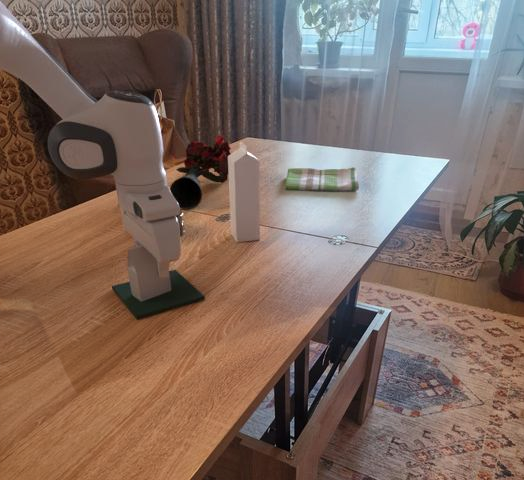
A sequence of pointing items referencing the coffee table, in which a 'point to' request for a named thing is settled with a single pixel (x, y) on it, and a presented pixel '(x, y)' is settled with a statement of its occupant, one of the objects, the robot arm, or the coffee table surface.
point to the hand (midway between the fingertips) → (153, 266)
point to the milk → (244, 195)
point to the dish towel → (322, 179)
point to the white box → (145, 275)
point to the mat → (160, 297)
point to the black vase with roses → (200, 171)
